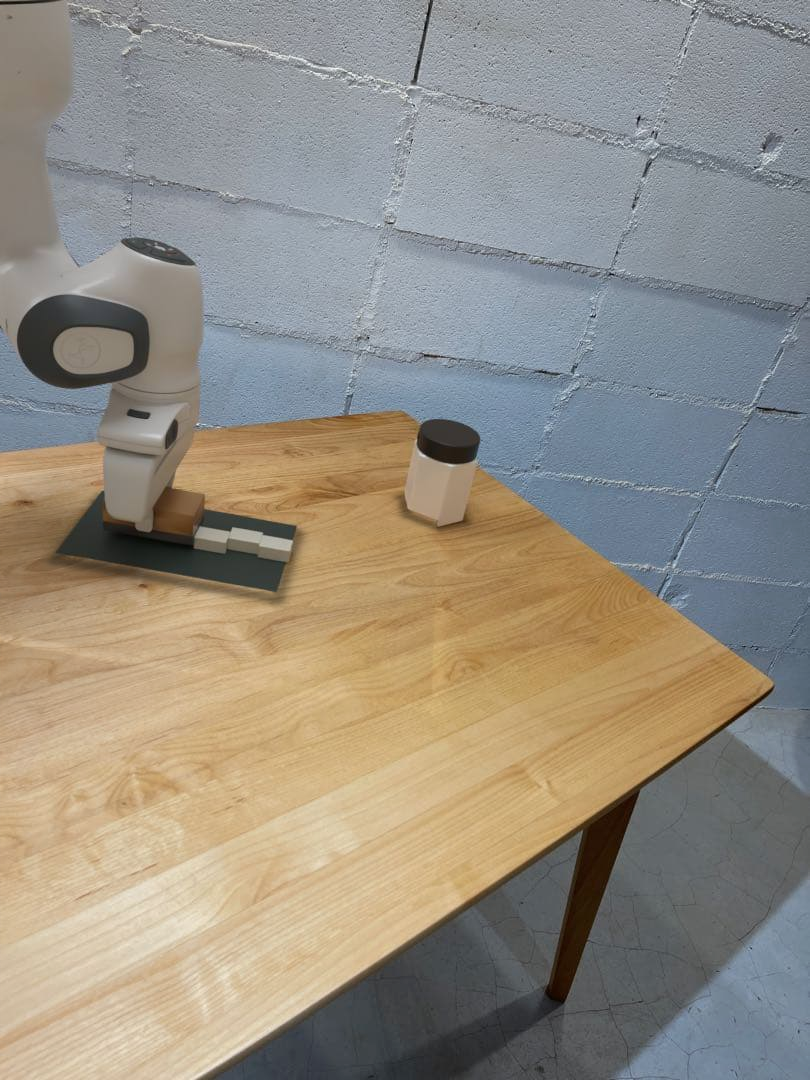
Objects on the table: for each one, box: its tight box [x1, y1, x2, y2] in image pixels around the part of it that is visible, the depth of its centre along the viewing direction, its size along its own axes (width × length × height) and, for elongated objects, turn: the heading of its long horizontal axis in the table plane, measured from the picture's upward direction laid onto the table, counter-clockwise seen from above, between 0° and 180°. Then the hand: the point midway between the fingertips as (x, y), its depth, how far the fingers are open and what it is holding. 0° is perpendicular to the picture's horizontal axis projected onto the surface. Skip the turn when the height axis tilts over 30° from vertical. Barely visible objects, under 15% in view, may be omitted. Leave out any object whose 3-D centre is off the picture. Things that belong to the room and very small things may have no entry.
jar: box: [403, 418, 481, 528], centre depth 109 cm, size 9×8×12 cm
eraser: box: [103, 487, 206, 546], centre depth 92 cm, size 10×5×4 cm, turn 87°
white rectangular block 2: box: [227, 527, 263, 554], centre depth 94 cm, size 4×2×2 cm, turn 88°
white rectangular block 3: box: [257, 535, 294, 563], centre depth 94 cm, size 4×2×2 cm, turn 88°
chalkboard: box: [54, 489, 298, 593], centre depth 94 cm, size 24×14×1 cm, turn 87°
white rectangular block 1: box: [194, 527, 230, 554], centre depth 93 cm, size 4×2×2 cm, turn 88°
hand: (154, 513), depth 92 cm, fingers closed on eraser, 5 cm apart
